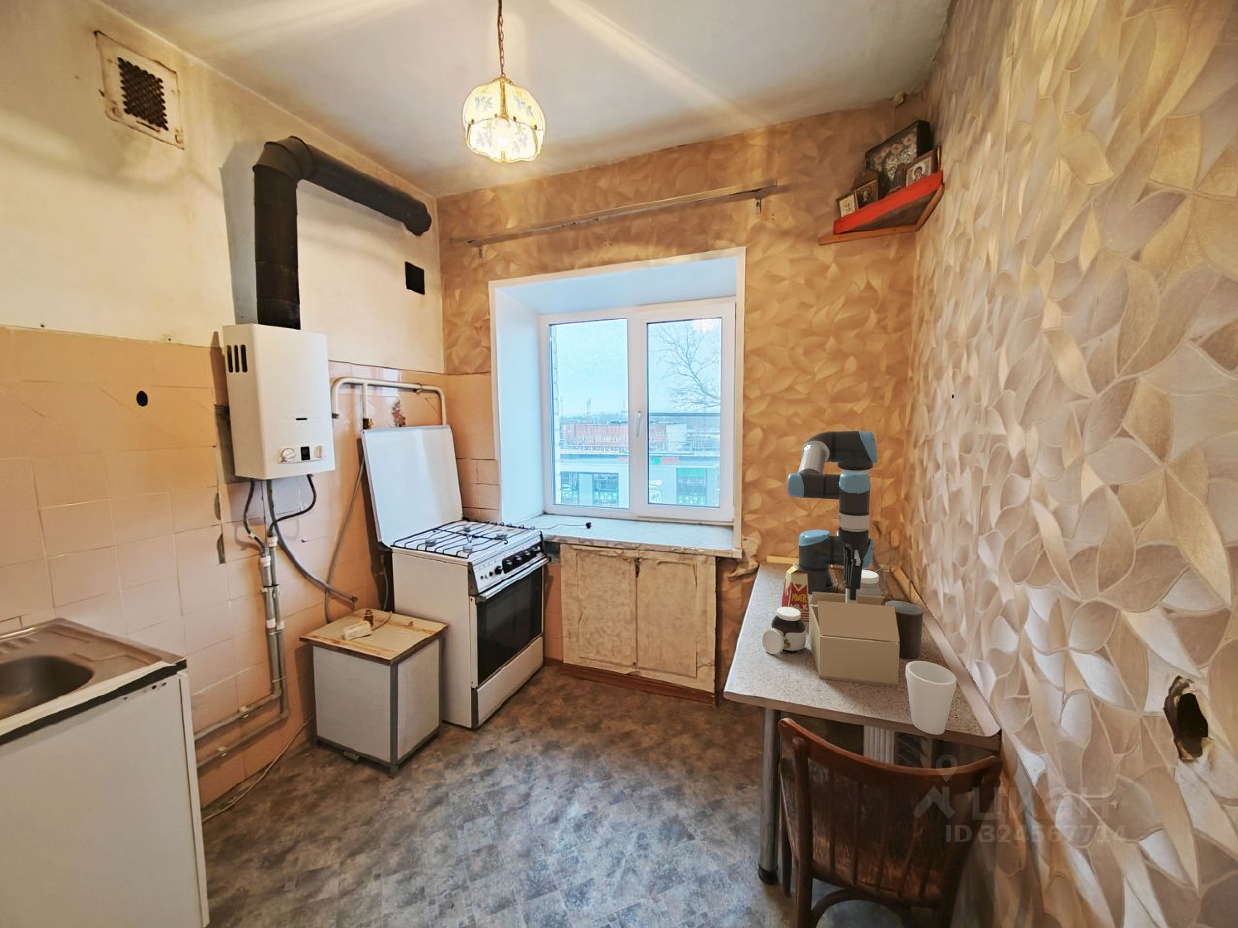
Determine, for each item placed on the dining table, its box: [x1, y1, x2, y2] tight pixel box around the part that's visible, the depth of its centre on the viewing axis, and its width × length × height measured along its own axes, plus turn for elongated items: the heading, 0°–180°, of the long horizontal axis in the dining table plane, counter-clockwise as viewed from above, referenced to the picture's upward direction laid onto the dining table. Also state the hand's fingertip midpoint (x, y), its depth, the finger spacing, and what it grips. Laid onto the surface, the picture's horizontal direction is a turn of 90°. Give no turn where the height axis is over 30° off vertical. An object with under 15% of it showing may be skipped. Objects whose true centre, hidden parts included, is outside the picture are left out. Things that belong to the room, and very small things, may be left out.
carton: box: [808, 604, 900, 688], centre depth 129 cm, size 20×19×12 cm
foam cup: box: [904, 660, 958, 735], centre depth 103 cm, size 10×9×13 cm
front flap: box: [817, 601, 900, 642], centre depth 120 cm, size 9×19×1 cm
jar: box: [858, 569, 882, 596], centre depth 150 cm, size 10×10×18 cm
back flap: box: [809, 592, 885, 606], centre depth 134 cm, size 9×19×1 cm
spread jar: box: [761, 606, 807, 655], centre depth 137 cm, size 12×11×12 cm
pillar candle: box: [884, 600, 924, 660], centre depth 134 cm, size 10×10×15 cm
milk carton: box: [780, 562, 810, 626], centre depth 156 cm, size 9×9×20 cm
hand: (851, 608), depth 127 cm, fingers closed
